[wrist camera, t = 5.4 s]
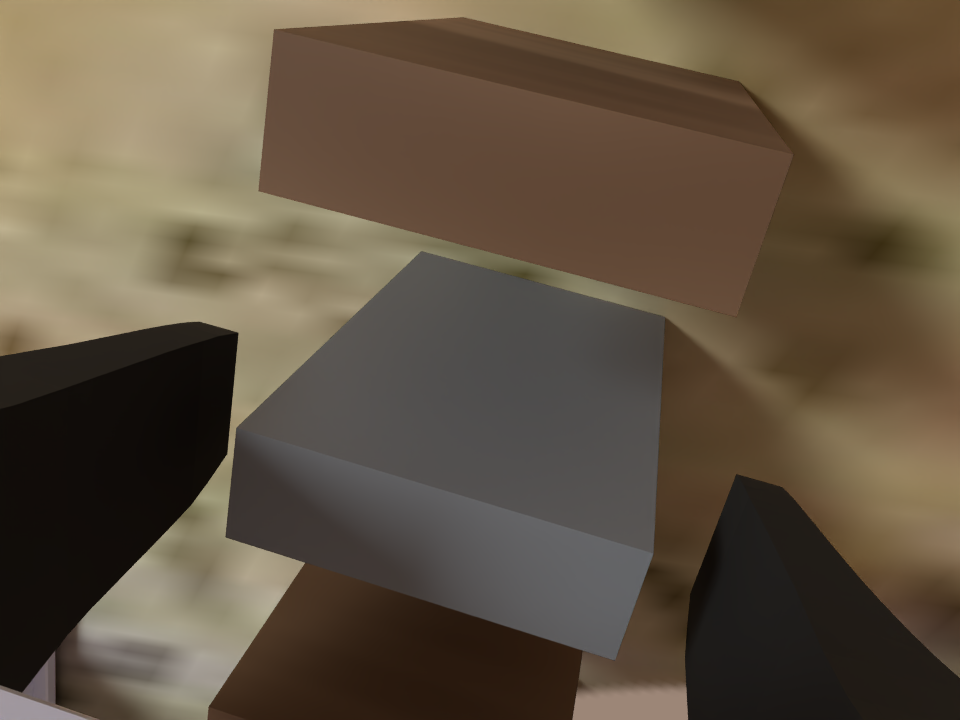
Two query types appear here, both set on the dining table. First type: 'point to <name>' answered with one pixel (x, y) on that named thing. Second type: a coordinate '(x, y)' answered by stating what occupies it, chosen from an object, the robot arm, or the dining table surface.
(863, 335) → the dining table surface
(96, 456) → the robot arm
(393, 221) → the domino
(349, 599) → the domino
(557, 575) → the loose domino
